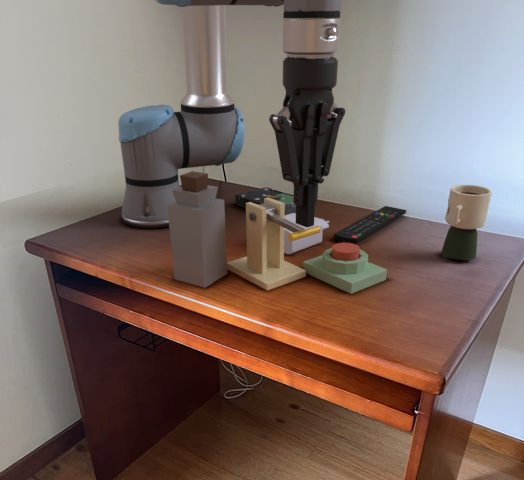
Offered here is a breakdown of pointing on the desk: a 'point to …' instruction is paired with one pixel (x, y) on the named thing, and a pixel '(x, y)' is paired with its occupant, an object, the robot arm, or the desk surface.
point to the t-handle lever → (288, 224)
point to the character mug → (465, 220)
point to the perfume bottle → (197, 231)
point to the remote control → (368, 225)
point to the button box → (345, 271)
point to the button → (345, 251)
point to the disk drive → (262, 193)
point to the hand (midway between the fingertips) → (304, 224)
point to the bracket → (265, 250)
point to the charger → (306, 241)
